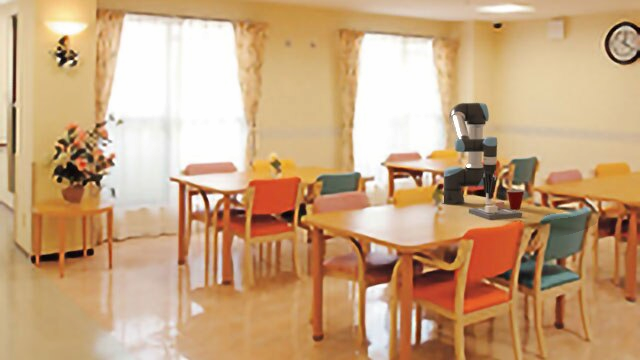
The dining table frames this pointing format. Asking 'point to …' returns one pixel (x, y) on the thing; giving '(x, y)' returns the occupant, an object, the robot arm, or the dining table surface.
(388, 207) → the dining table surface
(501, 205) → the fader
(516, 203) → the plastic cup
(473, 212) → the slider panel
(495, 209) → the fader
